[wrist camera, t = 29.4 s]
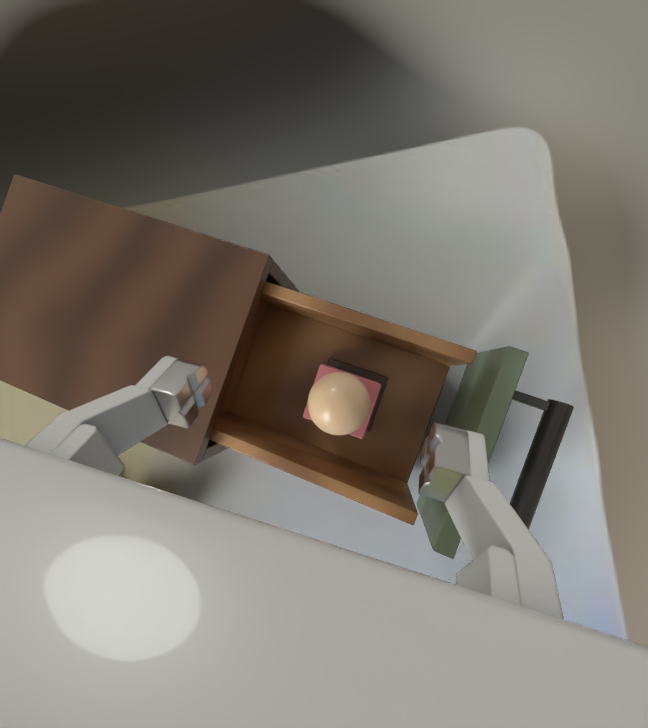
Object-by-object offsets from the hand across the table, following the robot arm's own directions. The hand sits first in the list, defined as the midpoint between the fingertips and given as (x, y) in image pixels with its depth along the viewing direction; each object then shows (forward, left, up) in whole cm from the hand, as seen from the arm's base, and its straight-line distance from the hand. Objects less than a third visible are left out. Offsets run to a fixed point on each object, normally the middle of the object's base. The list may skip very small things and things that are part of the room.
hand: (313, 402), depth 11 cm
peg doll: (0, -1, -14) cm, 14 cm away
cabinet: (0, +17, -16) cm, 23 cm away
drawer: (0, -3, -15) cm, 16 cm away
